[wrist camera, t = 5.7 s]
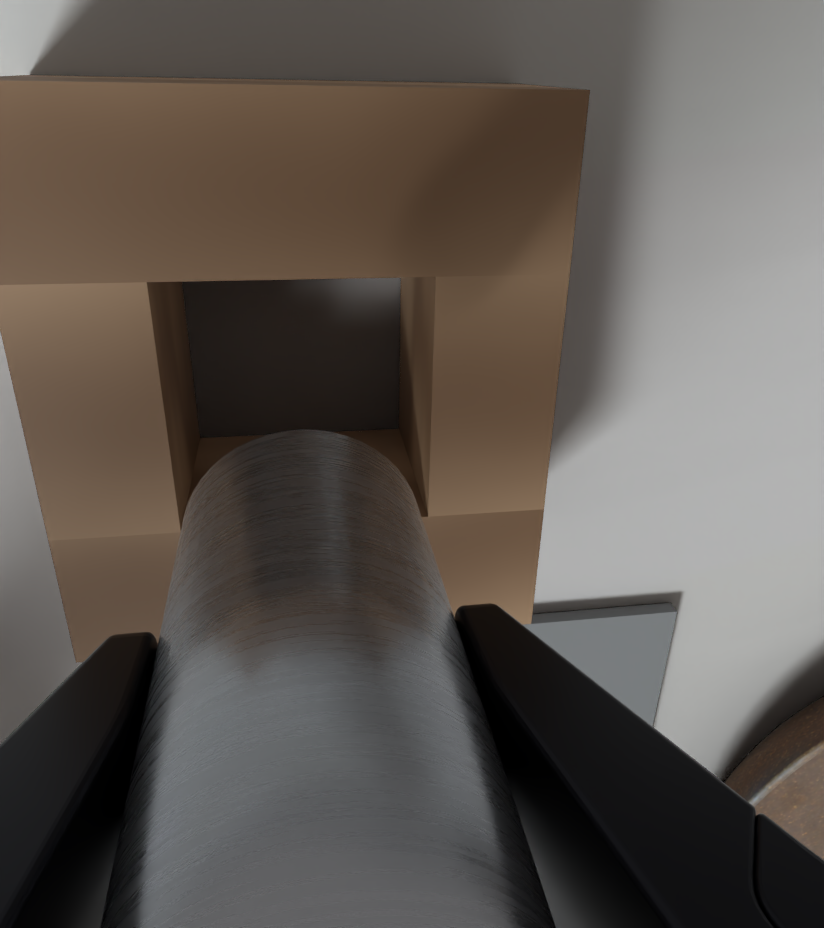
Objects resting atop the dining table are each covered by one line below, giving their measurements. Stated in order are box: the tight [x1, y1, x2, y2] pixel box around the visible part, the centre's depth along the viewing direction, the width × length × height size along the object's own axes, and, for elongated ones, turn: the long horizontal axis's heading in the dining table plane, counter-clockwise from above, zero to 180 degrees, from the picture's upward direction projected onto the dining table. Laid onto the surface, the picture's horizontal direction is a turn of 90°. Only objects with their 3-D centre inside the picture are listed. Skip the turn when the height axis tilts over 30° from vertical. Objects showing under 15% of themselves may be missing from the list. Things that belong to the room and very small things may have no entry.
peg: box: [100, 430, 556, 928], centre depth 6 cm, size 3×3×9 cm
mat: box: [522, 603, 677, 727], centre depth 23 cm, size 9×8×1 cm
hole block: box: [0, 75, 590, 662], centre depth 15 cm, size 10×9×4 cm
